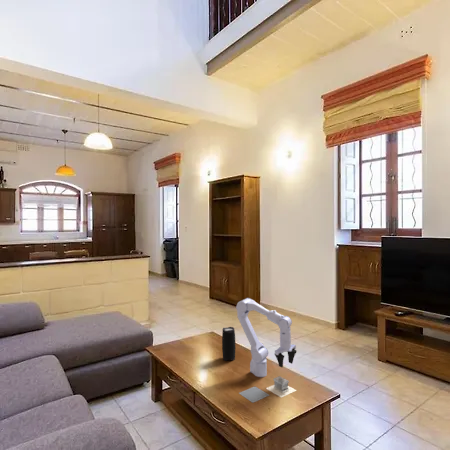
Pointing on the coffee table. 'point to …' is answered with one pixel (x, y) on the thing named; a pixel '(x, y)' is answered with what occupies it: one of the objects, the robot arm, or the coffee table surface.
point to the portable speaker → (228, 343)
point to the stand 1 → (254, 394)
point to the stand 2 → (280, 392)
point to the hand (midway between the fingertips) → (285, 364)
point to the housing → (281, 384)
